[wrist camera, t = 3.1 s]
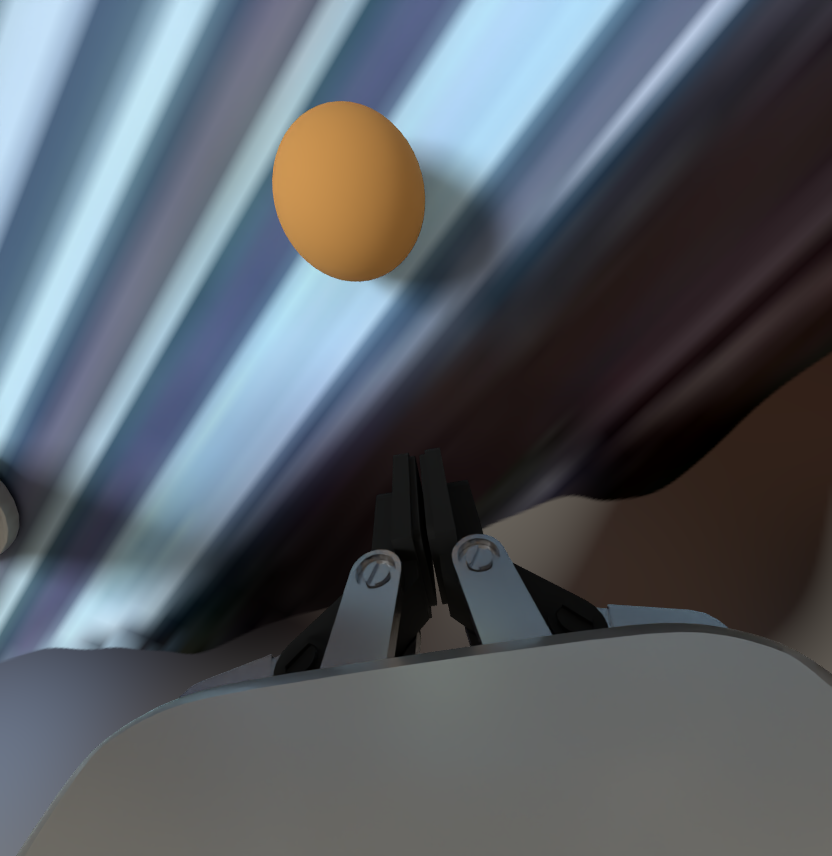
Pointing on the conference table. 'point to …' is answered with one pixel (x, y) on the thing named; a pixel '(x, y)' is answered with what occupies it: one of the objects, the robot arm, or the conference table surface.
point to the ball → (348, 191)
